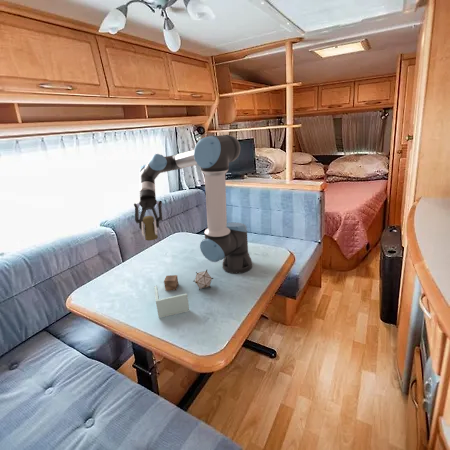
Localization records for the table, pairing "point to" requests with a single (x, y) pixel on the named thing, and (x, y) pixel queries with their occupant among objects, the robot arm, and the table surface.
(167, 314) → the l-shaped corner panel
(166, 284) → the walnut block
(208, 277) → the game die
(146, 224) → the cork
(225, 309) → the table surface
